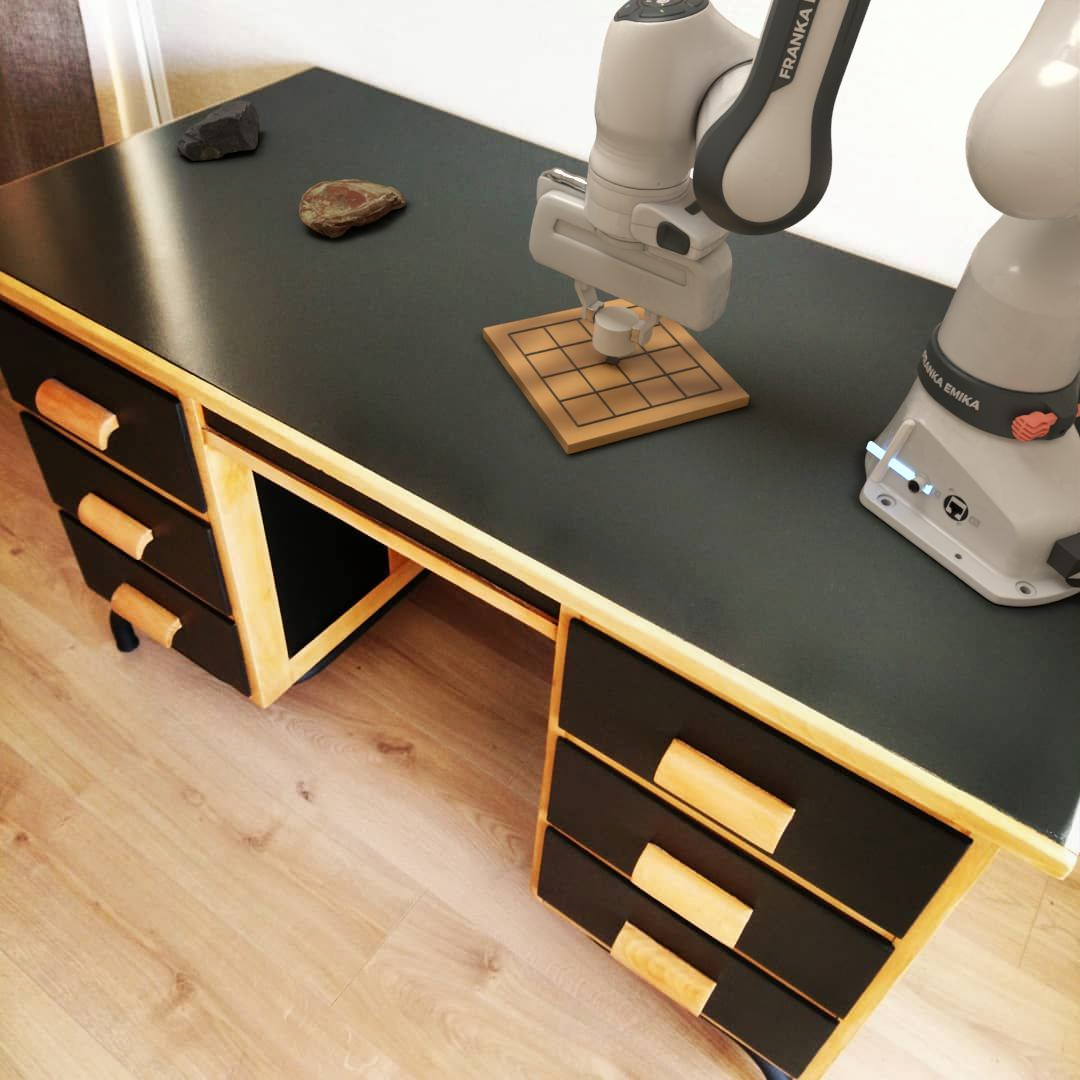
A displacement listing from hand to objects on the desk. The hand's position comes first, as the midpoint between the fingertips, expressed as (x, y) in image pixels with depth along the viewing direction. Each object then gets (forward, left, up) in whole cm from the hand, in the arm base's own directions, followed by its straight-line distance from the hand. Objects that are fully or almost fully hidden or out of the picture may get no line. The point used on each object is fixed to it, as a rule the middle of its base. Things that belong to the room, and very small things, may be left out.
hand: (616, 330), depth 93 cm
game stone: (0, 0, -2) cm, 2 cm away
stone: (+39, +15, -5) cm, 43 cm away
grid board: (-1, 0, -5) cm, 5 cm away
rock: (+62, +25, -5) cm, 68 cm away
